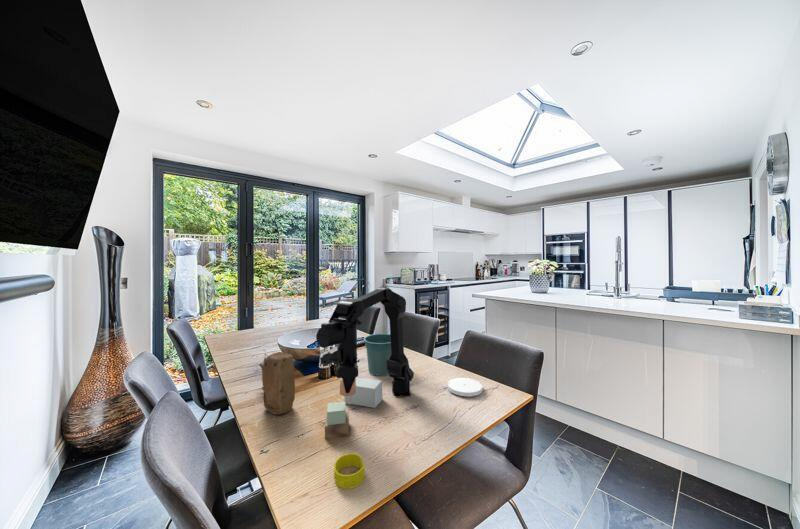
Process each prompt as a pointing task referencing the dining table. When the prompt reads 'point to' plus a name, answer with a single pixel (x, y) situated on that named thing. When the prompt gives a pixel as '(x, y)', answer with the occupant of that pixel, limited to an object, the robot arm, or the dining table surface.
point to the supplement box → (366, 393)
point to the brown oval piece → (342, 388)
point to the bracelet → (352, 479)
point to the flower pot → (378, 353)
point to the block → (278, 382)
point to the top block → (336, 413)
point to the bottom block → (337, 429)
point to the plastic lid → (464, 387)
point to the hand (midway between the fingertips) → (347, 389)
